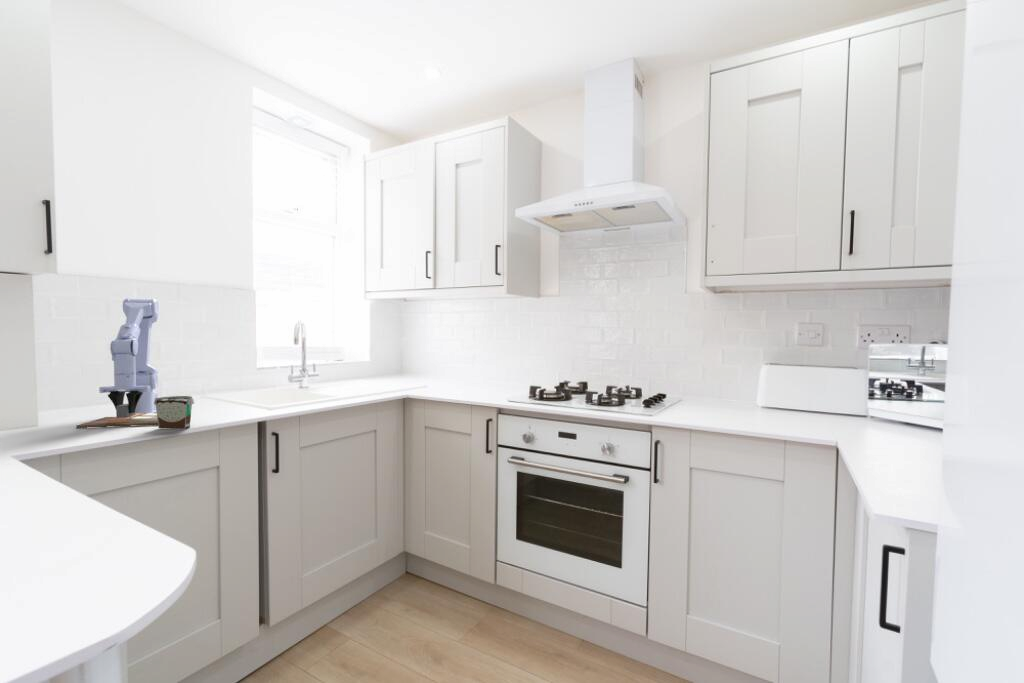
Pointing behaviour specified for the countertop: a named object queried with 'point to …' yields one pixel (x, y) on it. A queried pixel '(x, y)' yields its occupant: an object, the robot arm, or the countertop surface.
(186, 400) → the food container
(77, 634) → the countertop surface
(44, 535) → the countertop surface
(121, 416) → the pink grey stepped block
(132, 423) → the board
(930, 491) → the countertop surface
